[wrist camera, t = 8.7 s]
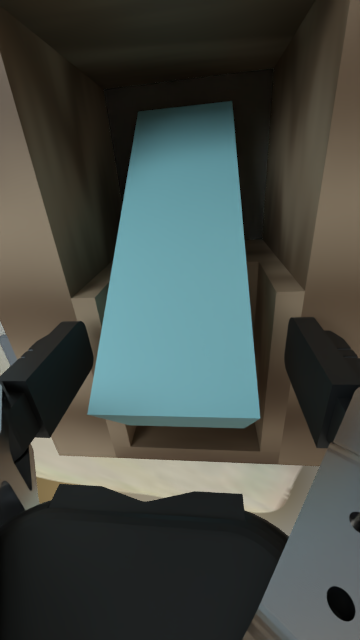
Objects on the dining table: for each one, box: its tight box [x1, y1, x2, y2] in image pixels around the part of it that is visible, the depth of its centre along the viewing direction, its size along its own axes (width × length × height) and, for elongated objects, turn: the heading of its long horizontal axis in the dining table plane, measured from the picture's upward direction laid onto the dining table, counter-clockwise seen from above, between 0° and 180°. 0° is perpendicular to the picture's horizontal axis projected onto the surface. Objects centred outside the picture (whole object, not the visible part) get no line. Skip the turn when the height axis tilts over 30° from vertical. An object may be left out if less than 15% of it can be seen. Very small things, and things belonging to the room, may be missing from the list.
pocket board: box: [0, 0, 360, 466], centre depth 14 cm, size 20×16×9 cm
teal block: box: [87, 101, 260, 428], centre depth 12 cm, size 14×4×4 cm
